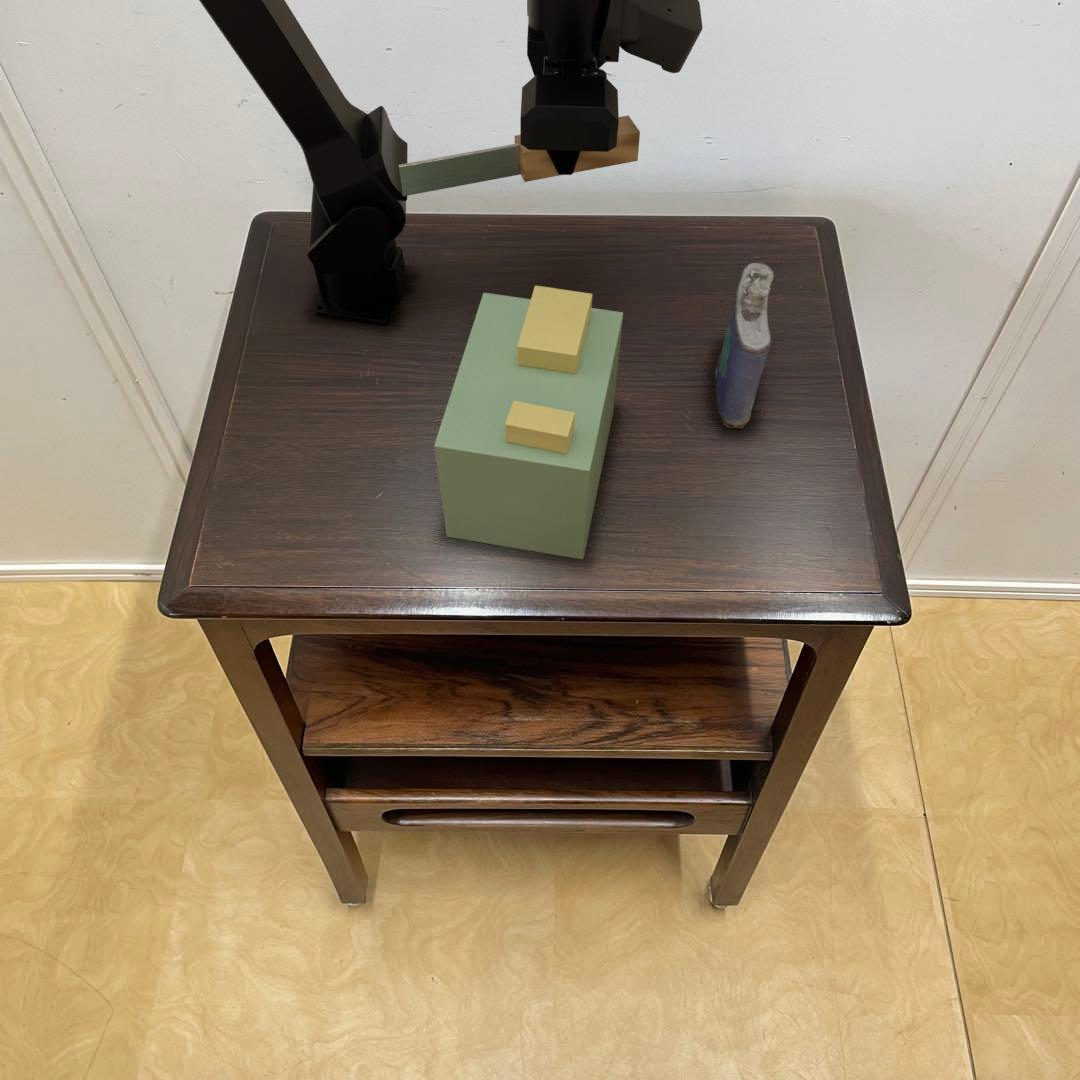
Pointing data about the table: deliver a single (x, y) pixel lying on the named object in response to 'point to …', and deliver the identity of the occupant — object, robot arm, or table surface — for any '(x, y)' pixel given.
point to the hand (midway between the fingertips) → (565, 159)
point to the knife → (510, 163)
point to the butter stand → (515, 470)
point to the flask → (744, 347)
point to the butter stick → (554, 329)
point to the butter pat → (540, 427)
